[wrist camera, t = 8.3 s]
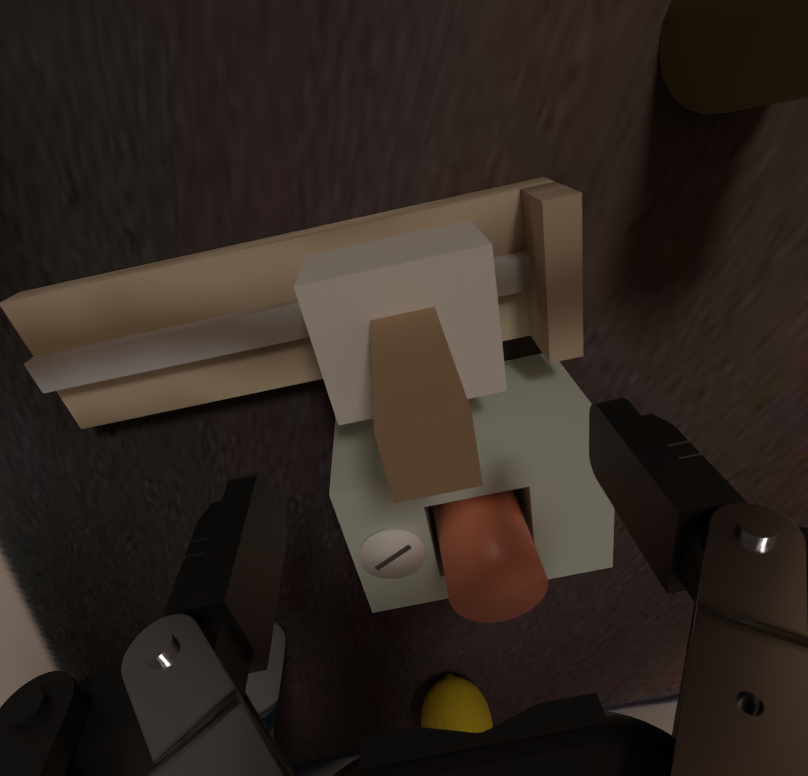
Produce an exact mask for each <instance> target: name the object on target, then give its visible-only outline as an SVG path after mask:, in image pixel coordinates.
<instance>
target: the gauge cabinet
mask: <svg viewBox="0 0 808 776" xmlns="http://www.w3.org/2000/svg"><path fill="white" fill-rule="evenodd" d="M504 365H505V375H506V385H507V391H504V392H499V393H494V394H490V395H485V396H480V397H475V398H470V399H467V400H468V402H469V405H470V408H471V411H472V417H473V423H474V430H475V437H476V443H477V450H478V457H479V464H480V470H481V477H482V484H483V486H479V487H474V488H469V489H464V490H459V491H454V492H449V493H444V494H439V495H434V496H429V497H424V498H419V499H414V500H409V501H404V502H399V503H394V502H393V498H392V494H391V491H390V487H389V484H388V480H387V477H386V473H385V469H384V466H383V462H382V459H381V455H380V452H379V448H378V444H377V441H376V437H375V434H374V420H373V419H368V420H363V421H358V422H353V423H348V424H343V425H338V423H337V420H335V432H334V444H333V456H332V467H331V479H330V491H329V496H330V499H331V502H332V504H333V507H334V510H335V512H336V515H337V518H338V521H339V523H340V526H341V529H342V531H343V534H344V537H345V540H346V542H347V545H348V548H349V550H350V553H351V556H352V559H353V561H354V564H355V567H356V569H357V572H358V575H359V578H360V580H361V583H362V586H363V588H364V591H365V594H366V597H367V599H368V602H369V605H370V607H371V610H372V613H374V612H379V611H385V610H390V609H395V608H400V607H405V606H411V605H416V604H421V603H426V602H432V601H437V600H442V599H447V598H449V597H448V592H447V586H446V580H445V575H444V569H443V563H442V557H441V552H440V546H439V540H438V534H437V529H436V523H435V517H434V511H433V505H438V504H443V503H448V502H453V501H458V500H463V499H468V498H473V497H478V496H484V495H489V494H494V493H499V492H504V491H509V490H513V491H514V493H515V496H516V499H517V501H518V504H519V506H520V509H521V511H522V514H523V517H524V519H525V522H526V524H527V527H528V529H529V532H530V535H531V537H532V540H533V542H534V545H535V547H536V550H537V553H538V555H539V558H540V560H541V563H542V565H543V568H544V571H545V573H546V576H547V579H552V578H557V577H563V576H568V575H573V574H578V573H583V572H589V571H594V570H599V569H604V568H610V567H612V565H613V536H614V507H613V505H612V504H611V502H610V500H609V499H608V497H607V496H606V494H605V492H604V491H603V489H602V487H601V486H600V484H599V483H598V481H597V479H596V478H595V475H594V473H593V470H592V467H591V464H590V459H589V410H590V406H591V405H592V404H591V403H590V401H589V400H588V399H587V397H586V396H585V395H584V393H583V392H582V391H581V390H580V388H579V387H578V386H577V384H576V383H575V382H574V380H573V379H572V378H571V376H570V375H569V374H568V372H567V371H566V370H565V368H564V367H563V366H562V364H561V363H560V362H559V361H557V362H552V363H550V362H549V361H548V360H547V358H546V357H545V355H544V354H543V353H541V354H536V355H531V356H527V357H522V358H517V359H512V360H507V361H504Z"/></svg>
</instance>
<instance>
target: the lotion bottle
mask: <svg viewBox="0 0 808 776" xmlns="http://www.w3.org/2000/svg"><path fill="white" fill-rule="evenodd" d="M284 653H285V634H284V631H283V630H282V628H281V627H280V626H279V625H278V624H277V623H276V622H274V629H273V635H272V641H271V648H270V654H269V661H268V667H267V670H264V671H259V672H254V673H249V674H248V679H247V684H246V690H245V692H246V694H247V695H248V697H249V698H250V700H251V702H252V703H253V705H254V707H255V708H256V710H257V712H258V713H259V715H260V717H261V718H262V720H263V722H264V723H265V725H266V727H267V728H268V730H269V732H270V733H271V735H272V737H273V732H274V725H275V718H276V711H277V704H278V697H279V690H280V683H281V676H282V668H283V661H284Z"/></svg>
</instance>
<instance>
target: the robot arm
mask: <svg viewBox="0 0 808 776" xmlns="http://www.w3.org/2000/svg"><path fill="white" fill-rule="evenodd" d="M589 459H590V464H591V467H592V470H593V473H594V475H595V478H596V479H597V481H598V483H599V484H600V486H601V487H602V489H603V491H604V492H605V494H606V496H607V497H608V499H609V500H610V502H611V504H612V505H613V507H614V508H615V510H616V512H617V513H618V515H619V517H620V518H621V520H622V521H623V523H624V525H625V526H626V528H627V529H628V531H629V533H630V534H631V536H632V538H633V539H634V541H635V542H636V544H637V546H638V547H639V549H640V550H641V552H642V554H643V555H644V557H645V559H646V560H647V562H648V563H649V565H650V567H651V568H652V570H653V571H654V573H655V575H656V576H657V578H658V580H659V581H660V583H661V584H662V586H663V588H664V589H665V591H666V592H667V594H670V593H675V592H680V591H685V590H687V592H688V593H689V595H690V596H691V598H692V599H693V601H694V607H693V613H692V619H691V625H690V631H689V637H688V643H687V649H686V655H685V662H684V668H683V674H682V680H681V686H680V692H679V698H678V703H677V709H676V714H675V720H674V726H673V731H672V736H671V735H670V734H668V733H667V732H665V731H663V730H661V729H659V728H657V727H655V726H653V725H651V724H649V723H647V722H644V721H642V720H639V719H636V718H633V717H630V716H626V715H623V714H618V713H614V712H605V711H604V710H603V708H602V705H601V703H600V700H599V698H598V695H597V693H592V694H586V695H581V696H576V697H570V698H565V699H560V700H555V701H549V702H544V703H539V704H536V705H534V706H532V707H530V708H528V709H527V710H525V711H523V712H521V713H519V714H517V715H515V716H513V717H511V718H509V719H507V720H506V721H504V722H502V723H500V724H498V725H496V726H494V727H492V728H490V729H488V730H486V731H484V732H480V733H472V732H463V731H454V730H444V729H435V728H426V727H412V728H407V729H401V730H396V731H391V732H386V733H380V734H375V735H370V736H364V737H360V758H358V759H356V760H354V761H352V762H351V763H350V764H348V765H346V766H345V767H344V768H342V769H341V770H339V771H338V772H337V773H336V774H335V775H334V776H808V528H804V527H798V526H797V525H796V524H795V523H794V522H793V521H791V520H790V519H789V518H788V517H786V516H784V515H783V514H781V513H779V512H777V511H775V510H773V509H770V508H768V507H765V506H761V505H758V504H752V503H747V502H746V501H745V500H744V499H743V498H742V497H741V496H740V494H739V493H738V492H737V491H736V490H735V489H734V488H733V487H732V486H731V485H730V484H729V483H728V482H727V481H726V480H725V479H724V478H723V477H722V476H721V475H720V473H719V472H718V471H717V470H716V469H715V468H714V467H713V466H712V465H711V464H710V463H709V462H708V461H707V460H706V459H705V458H704V457H703V456H702V455H701V456H700V454H699V451H698V450H697V449H696V448H695V447H694V446H693V445H692V444H691V443H688V441H687V439H686V438H685V437H684V436H683V435H682V434H681V432H680V431H679V430H678V429H677V428H676V427H675V426H674V425H673V424H671V423H669V422H667V421H665V420H663V419H661V418H659V417H657V416H655V415H654V414H649V415H644V416H641V415H640V414H639V412H638V411H637V410H636V409H635V408H634V407H633V406H632V404H631V403H630V402H629V401H628V400H627V399H625V398H619V399H614V400H610V401H605V402H600V403H595V404H592V405H591V406H590V410H589ZM191 541H192V542H191V543H190V544H189V546H188V549H187V552H186V554H185V555H186V559H184V560H183V563H182V565H181V568H180V571H179V573H178V576H177V579H176V581H175V584H174V587H173V590H172V592H171V595H170V598H169V600H168V603H167V606H166V609H165V611H164V614H163V617H162V618H161V619H159V620H157V621H156V622H154V623H152V624H151V625H149V626H148V627H147V628H146V629H144V630H143V631H142V632H141V633H140V634H139V635H138V636H137V637H136V638H135V640H134V641H133V642H132V644H131V645H130V646H129V648H128V650H127V652H126V654H125V656H124V659H123V660H121V661H119V662H118V663H116V664H114V665H112V666H109V667H107V668H105V669H103V670H101V671H99V672H97V673H95V674H93V675H91V676H89V677H87V678H85V679H83V680H81V681H79V682H77V681H76V680H75V679H74V678H73V677H72V676H71V675H69V674H68V673H66V672H63V671H52V672H48V673H45V674H43V675H40V676H38V677H36V678H34V679H32V680H31V681H29V682H28V683H26V684H25V685H23V686H22V687H21V688H19V689H18V690H17V691H16V692H15V693H14V694H13V695H12V696H10V698H8V699H7V701H6V702H5V703H4V704H3V705H2V706H1V708H0V776H296V774H295V773H294V771H293V769H292V768H291V766H290V765H289V763H288V761H287V760H286V758H285V756H284V755H283V753H282V751H281V750H280V748H279V747H278V745H277V743H276V742H275V740H274V738H273V737H272V735H271V733H270V732H269V730H268V728H267V727H266V725H265V723H264V722H263V720H262V718H261V717H260V715H259V713H258V712H257V710H256V708H255V707H254V705H253V703H252V702H251V700H250V698H249V697H248V695H247V694H246V692H245V690H246V684H247V679H248V674H249V673H254V672H259V671H264V670H267V667H268V661H269V654H270V648H271V641H272V635H273V629H274V622H275V616H276V609H277V603H278V596H279V590H280V583H281V577H282V570H283V564H284V557H285V551H286V544H287V525H286V521H285V517H284V514H283V512H282V510H281V508H280V505H279V503H278V501H277V499H276V497H275V494H274V492H273V490H272V488H271V486H270V483H269V481H268V479H267V477H266V475H265V474H264V473H263V472H257V473H252V474H247V475H242V476H237V477H232V478H230V479H229V481H228V483H227V486H226V490H225V493H224V496H223V499H222V501H220V502H215V503H212V504H211V505H210V506H209V508H208V509H207V510H206V511H205V513H204V514H203V515H202V516H201V518H200V519H199V520H198V522H197V525H196V527H195V530H194V533H193V535H192V538H191Z"/></svg>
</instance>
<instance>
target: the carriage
mask: <svg viewBox="0 0 808 776" xmlns="http://www.w3.org/2000/svg"><path fill="white" fill-rule="evenodd" d="M294 290H295V293H296V296H297V299H298V302H299V305H300V308H301V312H302V315H303V318H304V321H305V324H306V327H307V330H308V333H309V336H310V339H311V343H312V346H313V349H314V352H315V355H316V358H317V361H318V364H319V367H320V370H321V373H322V377H323V380H324V383H325V386H326V389H327V392H328V395H329V398H330V401H331V404H332V407H333V411H334V414H335V417H336V420H337V423H338V425H343V424H348V423H353V422H358V421H363V420H368V419H373V420H374V434H375V437H376V441H377V444H378V448H379V452H380V455H381V459H382V462H383V466H384V469H385V473H386V477H387V480H388V484H389V487H390V491H391V494H392V498H393V502H394V503H399V502H404V501H409V500H414V499H419V498H424V497H429V496H434V495H439V494H444V493H449V492H454V491H459V490H464V489H469V488H474V487H479V486H483V484H482V477H481V470H480V464H479V457H478V450H477V443H476V437H475V430H474V423H473V417H472V411H471V408H470V405H469V402H468V400H467V399H470V398H475V397H480V396H485V395H490V394H494V393H499V392H504V391H507V385H506V375H505V365H504V355H503V346H502V336H501V326H500V316H499V306H498V297H497V287H496V277H495V267H494V257H493V248H492V243H491V242H490V241H489V240H488V239H487V238H486V237H485V236H484V235H483V233H482V232H481V231H480V230H479V229H478V228H477V227H476V226H475V225H474V224H473V223H472V221H471V220H467V221H462V222H458V223H453V224H448V225H444V226H439V227H435V228H430V229H425V230H421V231H416V232H412V233H407V234H403V235H398V236H393V237H389V238H384V239H380V240H375V241H370V242H366V243H361V244H357V245H352V246H347V247H343V248H338V249H334V250H329V251H324V252H320V253H315V254H311V255H306V256H305V257H304V260H303V263H302V265H301V268H300V271H299V273H298V276H297V279H296V281H295V284H294Z"/></svg>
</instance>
